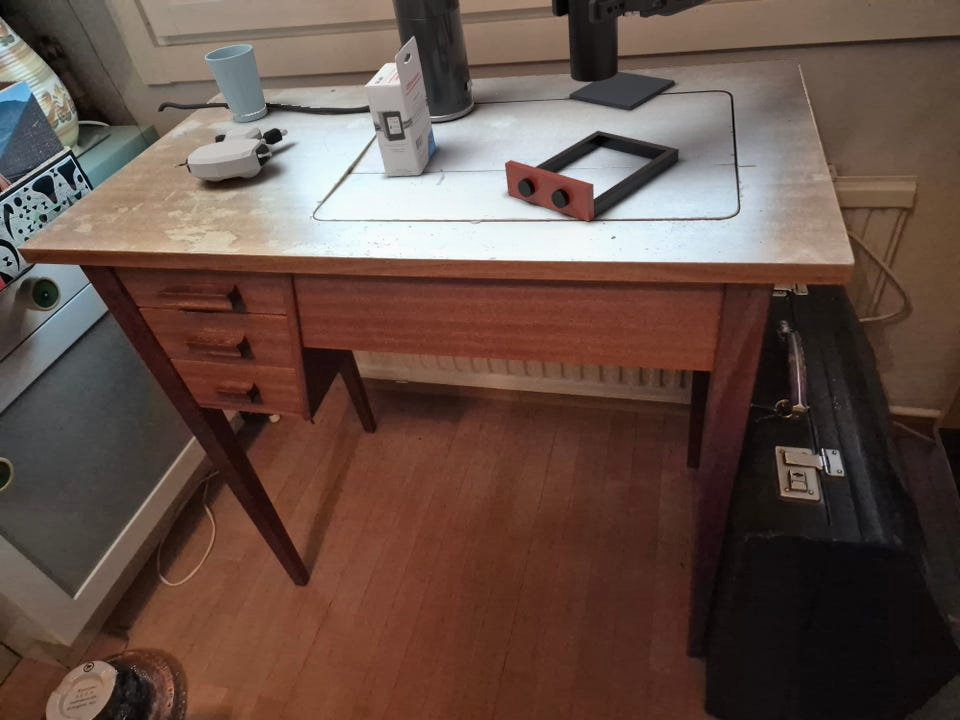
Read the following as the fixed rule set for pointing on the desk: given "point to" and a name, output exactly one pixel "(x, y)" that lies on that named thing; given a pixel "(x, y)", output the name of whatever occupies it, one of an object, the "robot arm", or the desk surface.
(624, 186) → the stove
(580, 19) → the can
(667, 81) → the mat
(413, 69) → the ink box
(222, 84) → the cup
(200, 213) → the desk surface
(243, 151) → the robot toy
